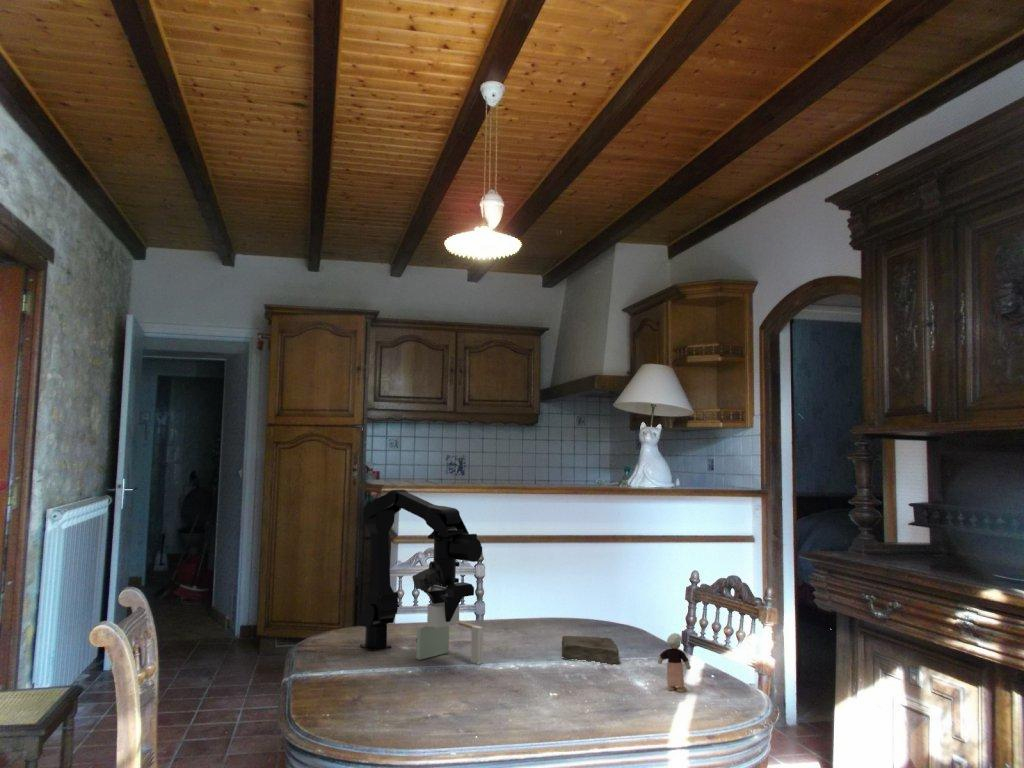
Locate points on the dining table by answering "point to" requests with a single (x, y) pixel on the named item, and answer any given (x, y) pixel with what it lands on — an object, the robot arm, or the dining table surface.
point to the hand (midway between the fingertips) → (443, 620)
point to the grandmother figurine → (674, 663)
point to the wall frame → (474, 642)
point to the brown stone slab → (590, 649)
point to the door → (432, 641)
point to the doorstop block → (440, 615)
